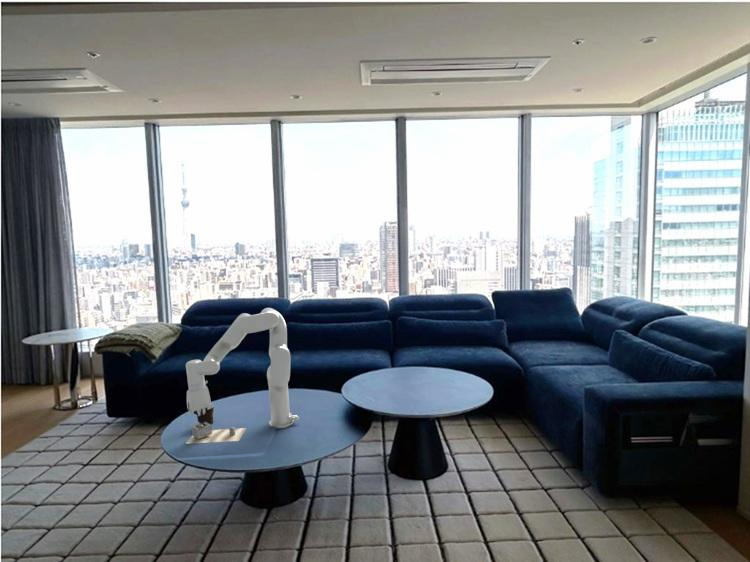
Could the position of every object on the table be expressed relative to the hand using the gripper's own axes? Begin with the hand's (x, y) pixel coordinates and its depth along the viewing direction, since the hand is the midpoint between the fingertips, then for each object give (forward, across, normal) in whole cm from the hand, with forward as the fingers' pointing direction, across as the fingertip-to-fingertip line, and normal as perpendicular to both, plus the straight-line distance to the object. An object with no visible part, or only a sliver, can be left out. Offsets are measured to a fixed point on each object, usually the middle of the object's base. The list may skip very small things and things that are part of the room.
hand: (201, 422), depth 223 cm
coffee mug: (+8, -9, -14) cm, 19 cm away
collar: (+6, 0, 0) cm, 6 cm away
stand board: (+8, -4, +5) cm, 11 cm away
